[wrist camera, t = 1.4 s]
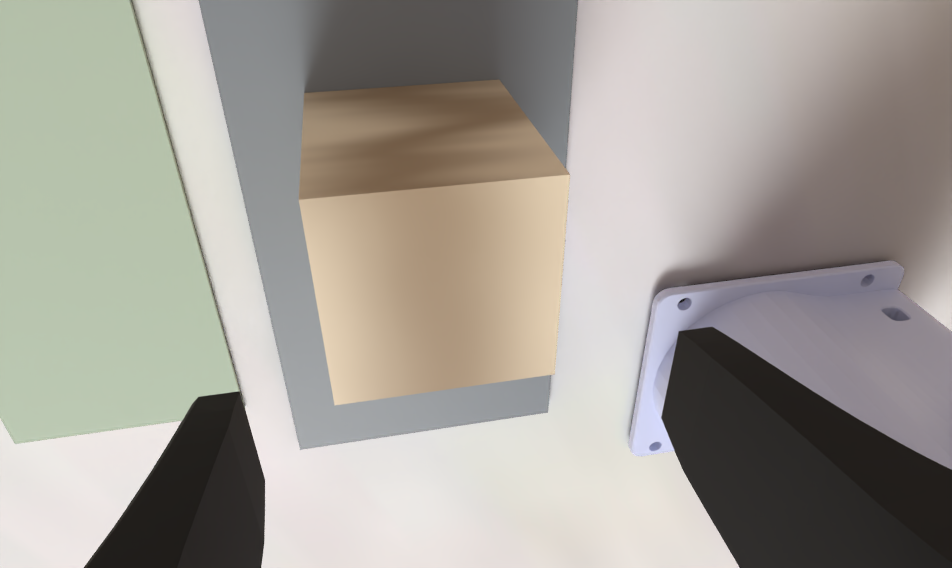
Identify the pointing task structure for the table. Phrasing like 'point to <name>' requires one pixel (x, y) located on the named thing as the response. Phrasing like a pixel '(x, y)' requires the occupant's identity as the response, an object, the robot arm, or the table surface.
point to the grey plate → (279, 157)
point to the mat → (94, 233)
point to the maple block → (431, 237)
